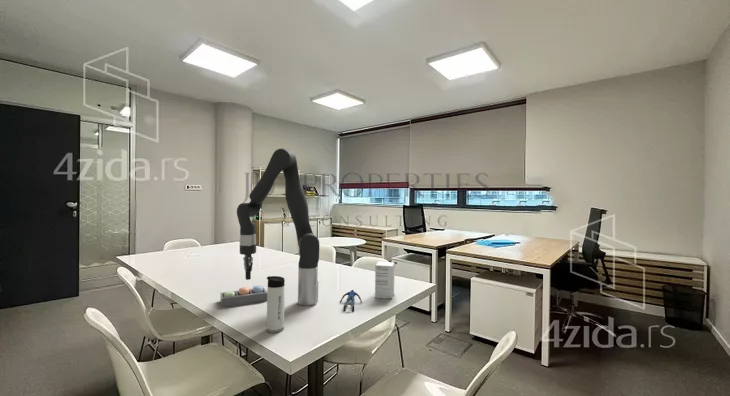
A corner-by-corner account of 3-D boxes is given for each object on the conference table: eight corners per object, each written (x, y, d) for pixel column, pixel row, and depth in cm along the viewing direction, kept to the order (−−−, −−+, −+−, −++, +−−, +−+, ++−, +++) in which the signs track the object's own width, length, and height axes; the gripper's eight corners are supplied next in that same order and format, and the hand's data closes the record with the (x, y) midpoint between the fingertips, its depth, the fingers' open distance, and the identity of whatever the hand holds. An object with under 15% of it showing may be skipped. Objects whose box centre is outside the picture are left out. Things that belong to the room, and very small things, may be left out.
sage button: (234, 298, 141) (234, 291, 141) (235, 301, 137) (235, 293, 137) (223, 299, 139) (223, 292, 139) (224, 302, 135) (224, 295, 135)
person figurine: (360, 316, 129) (363, 297, 147) (360, 306, 129) (363, 288, 147) (336, 315, 130) (341, 296, 148) (336, 305, 129) (341, 288, 147)
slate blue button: (261, 292, 147) (262, 285, 147) (263, 294, 143) (263, 287, 143) (252, 293, 145) (252, 286, 145) (253, 296, 141) (253, 288, 141)
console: (263, 295, 150) (263, 287, 150) (267, 301, 141) (267, 292, 141) (220, 301, 140) (220, 292, 140) (221, 307, 132) (221, 298, 132)
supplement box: (377, 292, 158) (377, 261, 158) (394, 293, 156) (394, 262, 157) (374, 297, 149) (375, 264, 149) (392, 299, 147) (393, 265, 147)
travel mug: (267, 326, 113) (269, 274, 114) (285, 325, 114) (286, 274, 114) (263, 333, 107) (264, 279, 107) (282, 333, 108) (283, 278, 108)
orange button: (248, 293, 144) (248, 286, 144) (249, 296, 140) (249, 289, 140) (238, 295, 142) (238, 288, 142) (239, 298, 138) (239, 290, 138)
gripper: (238, 242, 146) (238, 277, 145) (241, 246, 134) (241, 283, 134) (253, 241, 149) (254, 275, 149) (258, 244, 138) (258, 281, 138)
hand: (248, 279), depth 142 cm, fingers closed
